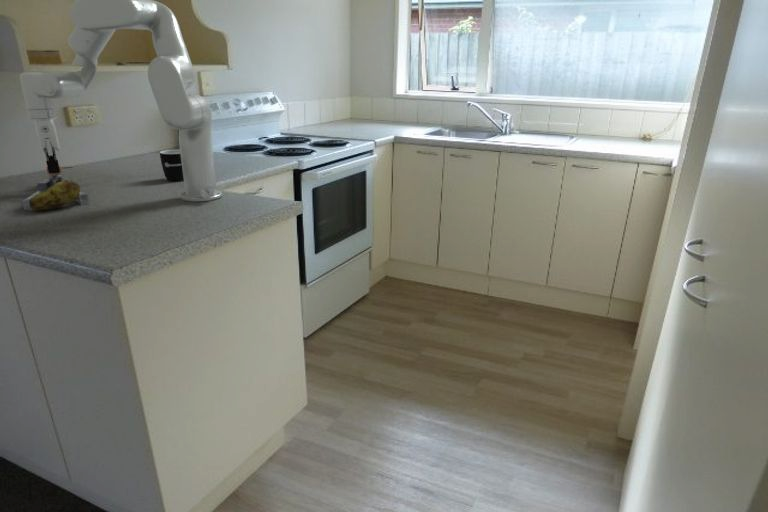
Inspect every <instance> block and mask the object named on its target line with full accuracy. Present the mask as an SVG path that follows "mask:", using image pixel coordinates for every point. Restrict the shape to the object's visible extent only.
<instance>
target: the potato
mask: <svg viewBox="0 0 768 512" xmlns="http://www.w3.org/2000/svg"><path fill="white" fill-rule="evenodd" d="M80 191H81V186H80V184H79V183H77V182H75V181H73V180H72V181H69V180H65V181H60V182H57V183H55V184H54V185H52V186H51V187H50V188H48V189H47V190H46V191H44V192H41V193H39V194H37V195H35V196H33V197H32V198H31V199H30V200H29V203H30V204H29V205H30V207H31V208H32V209H34V210H33V211H38V212H39V211H47V210H54V209H59V208H62V207H64V206H66V205H68V204H70V203H72V202H76V201H75V200H77V199H79V193H80Z"/></svg>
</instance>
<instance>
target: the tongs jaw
mask: <svg viewBox="0 0 768 512" xmlns="http://www.w3.org/2000/svg"><path fill="white" fill-rule="evenodd" d="M55 179H56V181H57V182H60V181H65V180H69V181H73V180H72V179H70V178H67V177H65V176H62V177H61V176H57V177H55ZM74 202H77V203H78V204H79V205H81V206H84V205H90V204H91V202H90V196H89V193H85V192H83V191H81V190H80V193H79V199H77V200H75V201H74Z"/></svg>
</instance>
